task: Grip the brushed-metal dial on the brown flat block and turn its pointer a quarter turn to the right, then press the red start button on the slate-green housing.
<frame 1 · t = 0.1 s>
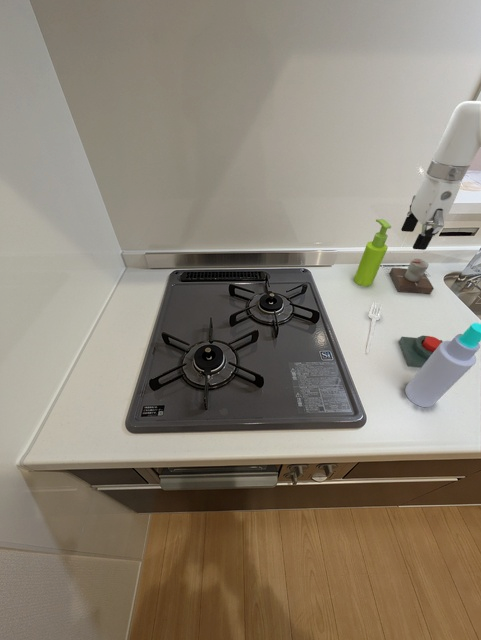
hand: (412, 239, 75), 19 cm above the worktop, tool pointing down, fingers open, 9 cm apart
soap dispenser: (362, 280, 93), on the worktop
spray bottle: (418, 396, 62), on the worktop
brown flat block: (408, 283, 92), on the worktop
fork: (371, 329, 77), on the worktop
start button: (431, 344, 67), point 4 cm above the worktop, slide at 0.1 cm
dial: (416, 269, 88), point 5 cm above the worktop, hinge at 0.0°
button housing: (423, 355, 70), on the worktop
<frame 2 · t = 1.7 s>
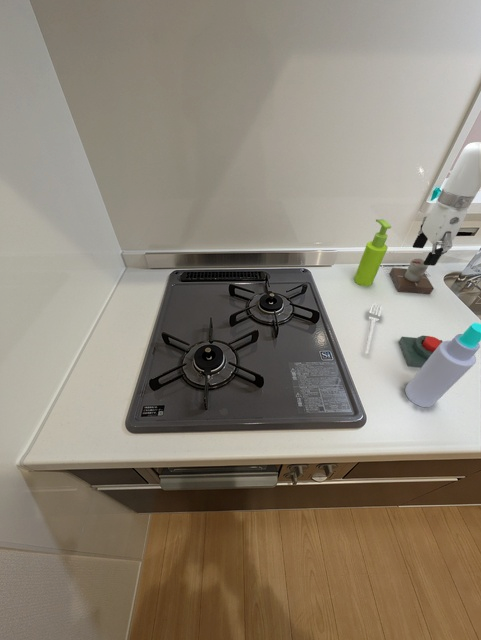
hand: (422, 255, 84), 10 cm above the worktop, tool pointing down, fingers open, 9 cm apart
nothing on the worktop moved.
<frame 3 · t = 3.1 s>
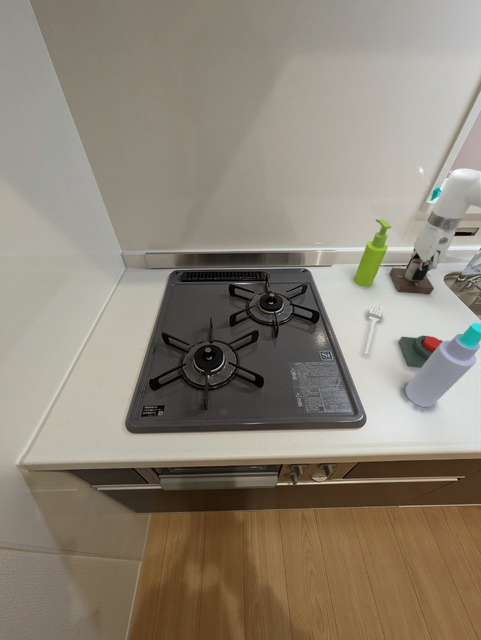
hand: (414, 273, 89), 4 cm above the worktop, tool pointing down, fingers closed on dial, 4 cm apart
dial: (416, 269, 88), point 5 cm above the worktop, hinge at 0.0°, touching gripper
everything else where it was.
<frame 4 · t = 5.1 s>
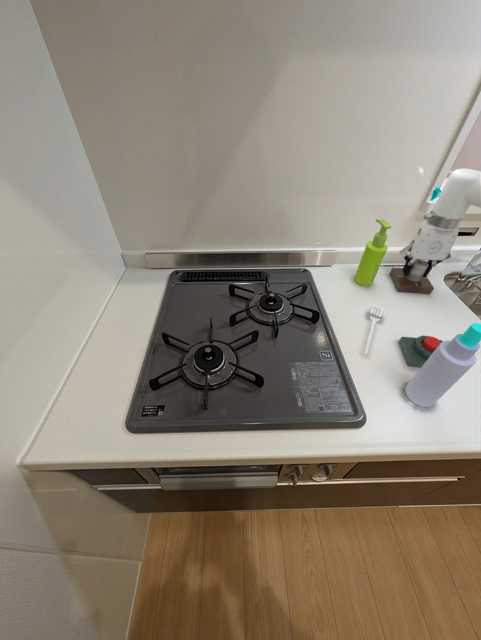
hand: (414, 273, 89), 4 cm above the worktop, tool pointing down, fingers closed on dial, 4 cm apart
dial: (416, 269, 88), point 5 cm above the worktop, hinge at -90.6°, touching gripper
everything else where it was.
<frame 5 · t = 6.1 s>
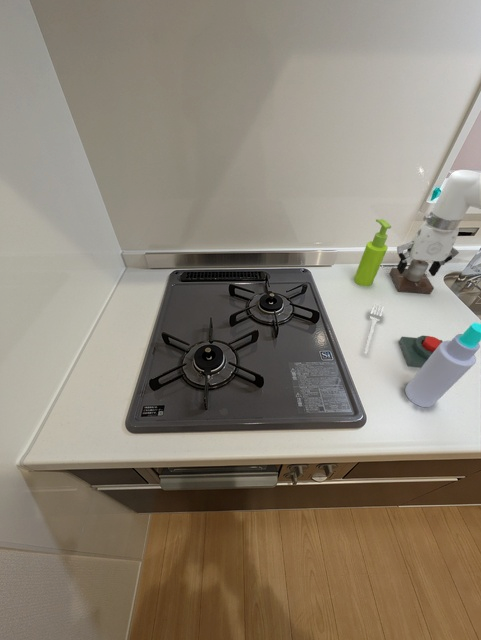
hand: (415, 272, 88), 4 cm above the worktop, tool pointing down, fingers open, 9 cm apart
dial: (416, 269, 88), point 5 cm above the worktop, hinge at -90.5°
everything else where it was.
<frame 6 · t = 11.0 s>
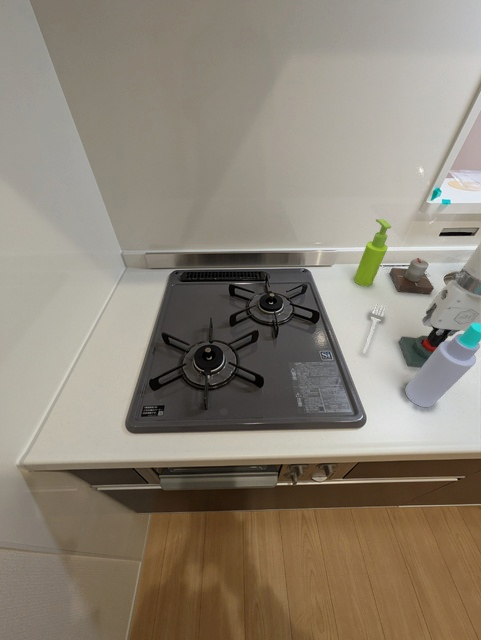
hand: (432, 342, 67), 5 cm above the worktop, tool pointing down, fingers closed
start button: (431, 345, 67), point 4 cm above the worktop, slide at -0.2 cm, touching gripper
everything else where it was.
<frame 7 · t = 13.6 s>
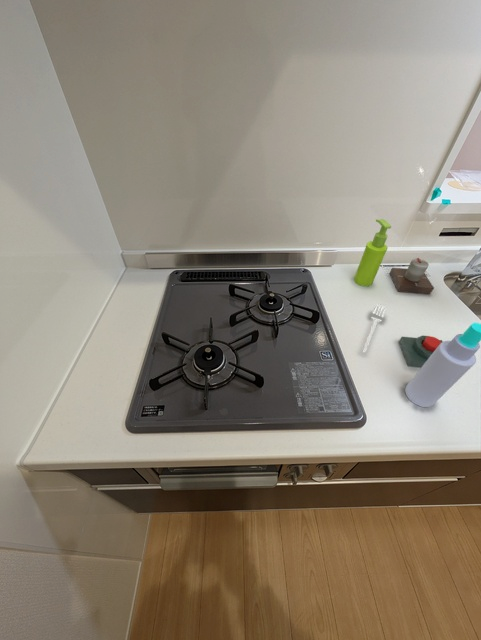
start button: (431, 344, 67), point 4 cm above the worktop, slide at 0.1 cm
everything else where it was.
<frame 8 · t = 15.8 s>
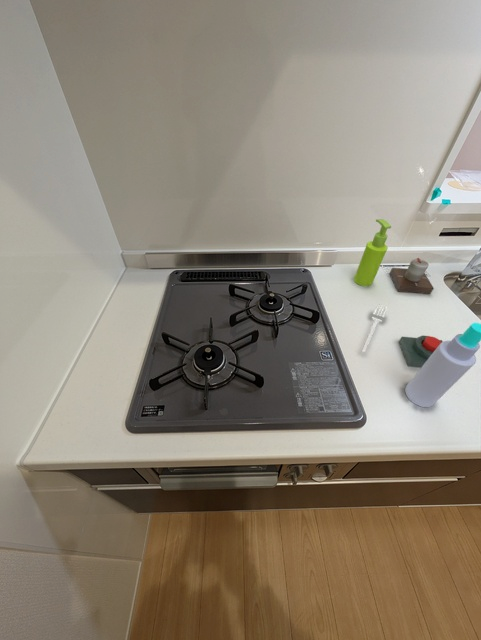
nothing on the worktop moved.
at the end: dial at -90° (first picture: +0°); start button pushed in 1.0 cm at the most during the clip, back to where it started at the end; start button slide at 0.1 cm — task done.
